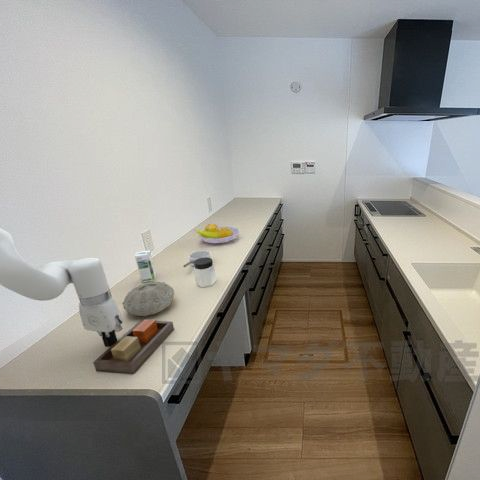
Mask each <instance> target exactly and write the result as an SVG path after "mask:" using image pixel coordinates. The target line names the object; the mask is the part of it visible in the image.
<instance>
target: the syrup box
mask: <svg viewBox="0 0 480 480" xmlns="http://www.w3.org/2000/svg"><path fill="white" fill-rule="evenodd" d="M134 258H135V262H136V266H137V268H138V273H139V277H140V282H141V283H142V282H144V283H148V282H147V281H150V282H154V281H153V280H155V281H156V278H157V273H156V269H155V266H154V261H153V256H152V252H151V250H144V251H137V252H136V253H135V255H134ZM155 277H156V278H155Z"/></svg>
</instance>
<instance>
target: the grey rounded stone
mask: <svg viewBox="0 0 480 480" xmlns="http://www.w3.org/2000/svg"><path fill="white" fill-rule="evenodd" d="M174 296H175V291H174V289H173V287H172V286H171V285H169V284H168V283H166V282H165V281H150V282H145V283H143V284H141V285H138V286H135V287H134V288H132V289H131V290H130V291H128V293H127V294H126V295H125V297H124V300H123V301H122V308H123V309H124V311H125V312H127V313H128V314H130V315H132V316H137V317H148V316H151V315H155V314H158V313H160V312H162V311H163V310H165V309H166V308H168V307H169V306H170V304H171V303H172V301H173V298H174Z"/></svg>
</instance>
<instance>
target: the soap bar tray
mask: <svg viewBox="0 0 480 480" xmlns="http://www.w3.org/2000/svg"><path fill="white" fill-rule="evenodd" d="M173 323H174V322H173V321H168V320H167V321H166V320H156V319H147V318H146V319H140V320H139V321H138V322H137V323H135V324H134V325H133V326H132V327H131V328H130V329H129V330H128V331H127V332H125V334H123V335H122V336H121V337H119V338H118V339H117V342H115V343H114V344H113V345H112V346H111V347H108V348H107V349H106V350H104V352H103V353H102V354H101V355H99V356H98V357H97V358H96V359H95V360H94V361H93V362H92V364H93V366H94V369H95V371H96V372H103V373H113V374H114V373H115V374H125V375H127V374H128V375H135V374H136V373H137V372H138V371H139V369H140V368H141V367H142V366H143V365H144V363H146V362H147V360H149V358H150V357H151V356H152V355H153V354H154V353H155V351H156V350H157V349H158V348H159V347H160V346H161V345H162V343H164V341H166V339H167V338H168V337H169V336H170V335H171V334H172V333H173V331H175V327H174V324H173Z"/></svg>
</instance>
